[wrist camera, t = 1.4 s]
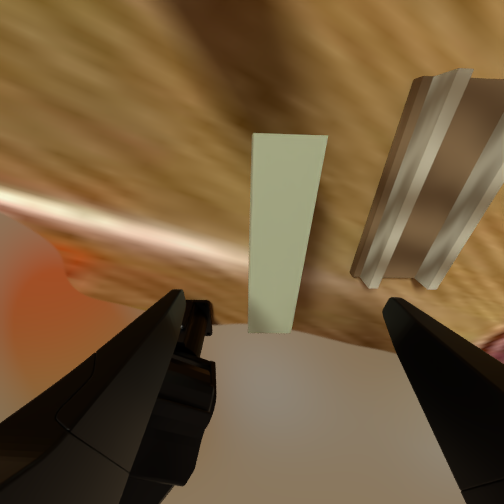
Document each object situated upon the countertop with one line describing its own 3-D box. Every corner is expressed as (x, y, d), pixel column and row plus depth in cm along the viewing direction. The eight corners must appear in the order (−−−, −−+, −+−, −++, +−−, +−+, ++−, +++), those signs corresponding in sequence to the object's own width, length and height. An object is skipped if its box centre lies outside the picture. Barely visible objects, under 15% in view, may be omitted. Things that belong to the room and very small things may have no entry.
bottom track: (422, 273, 25) (443, 289, 22) (349, 272, 24) (361, 288, 22) (527, 84, 16) (583, 73, 13) (413, 79, 15) (447, 67, 13)
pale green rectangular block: (277, 270, 24) (290, 333, 16) (248, 269, 24) (247, 333, 16) (292, 136, 17) (328, 135, 9) (251, 134, 17) (253, 133, 9)
